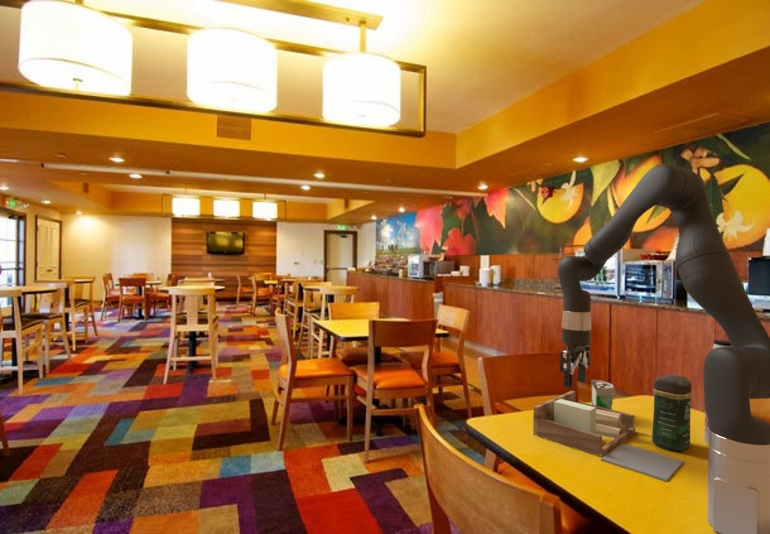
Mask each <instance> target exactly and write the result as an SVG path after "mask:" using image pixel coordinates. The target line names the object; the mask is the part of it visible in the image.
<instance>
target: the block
mask: <svg viewBox="0 0 770 534" xmlns="http://www.w3.org/2000/svg"><path fill="white" fill-rule="evenodd" d="M554 422H557V423H561V424H564V425H568V426H571V427H574V428H578V429H581V430H585V431H588V432H592V433H595V434H597V433H596V407H592V406H588V405H584V404H580V403H576V402H572V401H567V400H563V399H559V400H557V401H554Z"/></svg>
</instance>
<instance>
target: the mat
mask: <svg viewBox="0 0 770 534" xmlns="http://www.w3.org/2000/svg"><path fill="white" fill-rule="evenodd" d="M600 461H602V462H606V463H608V464H612V465H614V466H616V467H617V466H618V467H620V468H624V469H627V470H630V471H633V472H636V473H638V474H642V475H645V476H649V477H651V478H654V479H657V480H660V481H664V482H666V483H667V482H668V481H669V480H670V479H671V477H672V476H673V475H674V474H675V473H676V472H677V471H678V470H679V468H681V466H683V464H684V460H680V459H679V458H678V459H677V458H674V457H671V456H667V455H663V454H661V453H660V454H659V453H656V452H655V451H654V452H653V451H650V450H646V449H643V448H640V447H636V446H632V445H630V444H626V443H623V442H622V443H621V444H620V445H618V446H617V447H616V448H614V449H613V450H611V451H610V452H609V453H607V454H606V455H605V456H603V457H600Z"/></svg>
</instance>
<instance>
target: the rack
mask: <svg viewBox="0 0 770 534" xmlns="http://www.w3.org/2000/svg"><path fill="white" fill-rule="evenodd" d="M576 395H577V394H576V391H575V390H570V391H567V392H566V393H565V392H564V393H563V394H560V395H558V396H556V397H554V398H551V399H548V400H546V401H544V402H542V403H539V404H537V405H534V406H533V418H532V419H533V420H532V421H533V423H532V424H533V426H532V427H533V429H532V433H533V434H534V435H533V434H532V435H533V436H535V435H537V436H536V437H538V436H539V438H541V437H543V438H542V439H544V438H546V439H545V440H547V439H549V440H548V441H550V440H552V441H551V442H554V441H555V442H554V443H557V442H558V443H557V444H559V445H563V446H566V447H569V448H573V449H576V450H578V451H582V452H585V453H587V454H588V453H589V454H591V455H594V456H598V457H600V458H602V457H604V456H605V455H606V454H608V453H609V452H610V451H612V450H613V449H614V448H616V447H617V446H619V445H620V444H621V443H623V442H625V441H626V440H628V439H629V438H631V437H632V436H633V435H635V434H636V432H637V431H636V426H635V427H634V419H635V418H634V416H635V415H634V414H631V413H627V412H623V411H618V410H616V409H615V410H614V409H612V410H611V409H607V408H603V407H599V406H595V405H592V404H590V403H586V402H581V401H579V400H578V401H577V400H576ZM559 399H563V400H567V401H572V402H576V403H580V404H584V405H588V406H592V407H596V409H599V410H604V411H609V412H614V413H619V414H621V425H625V432H623V433H622V434H621V435H619V436H618V437H616V438H613V439H611V441H609V442H608V443H606V444H605V445H603V443H602V442H603V439H602V438H603V435H600V434H597V433H596V434H595V433H592V432H588V431H585V430H581V429H578V428H574V427H571V426H568V425H564V424H561V423H557V422H554V401H557V400H559Z"/></svg>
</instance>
